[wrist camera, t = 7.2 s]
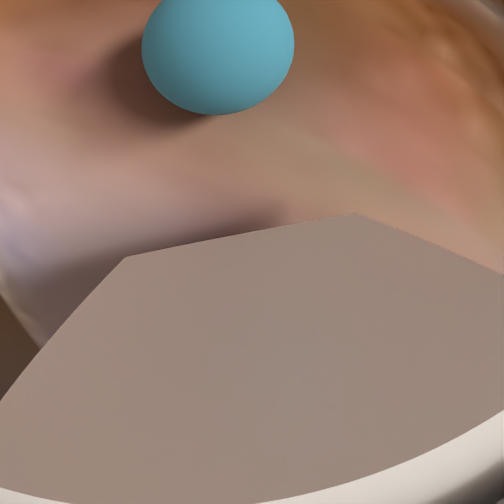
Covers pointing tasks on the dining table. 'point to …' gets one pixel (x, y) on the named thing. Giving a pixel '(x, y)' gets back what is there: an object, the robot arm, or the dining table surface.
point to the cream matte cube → (269, 377)
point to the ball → (217, 52)
